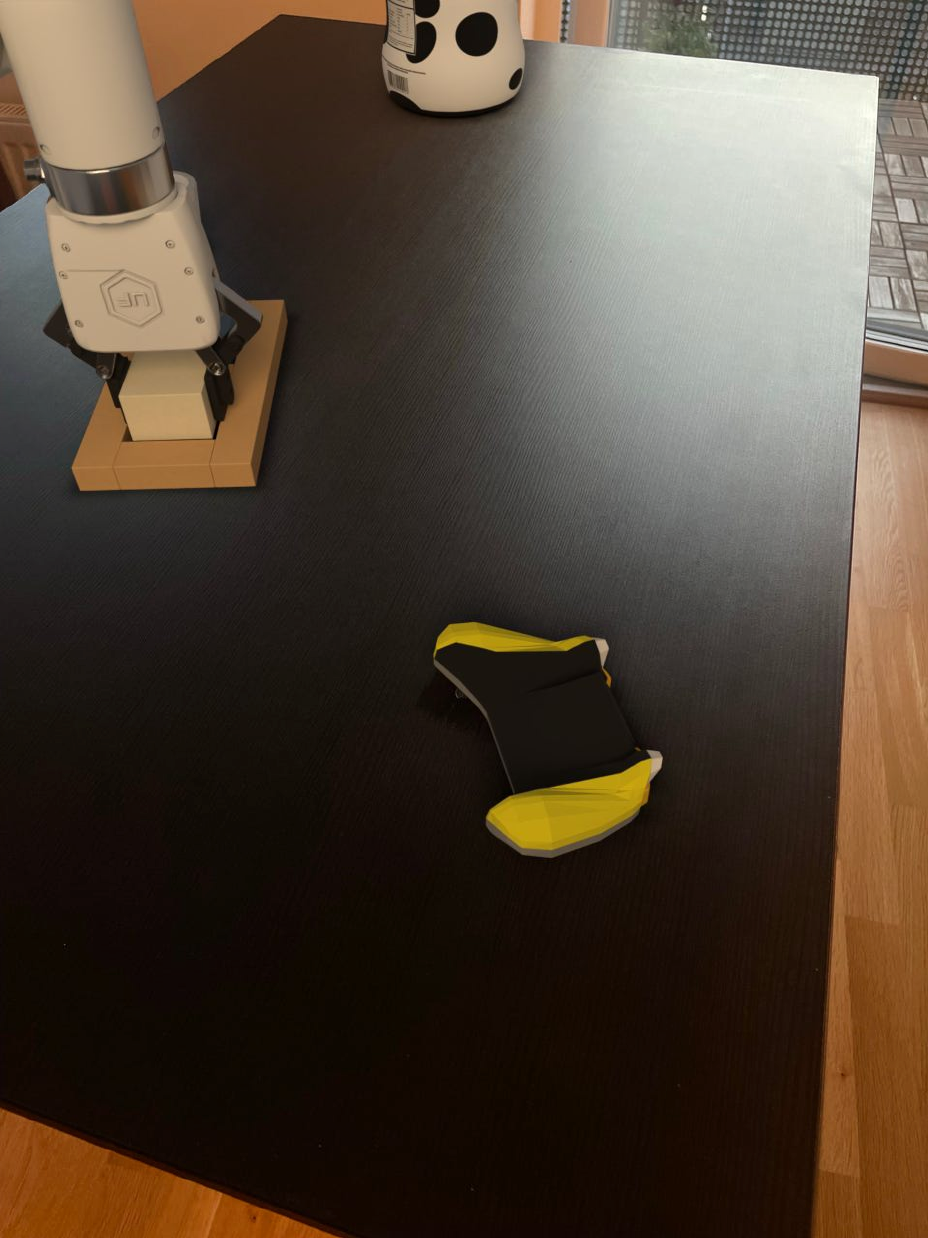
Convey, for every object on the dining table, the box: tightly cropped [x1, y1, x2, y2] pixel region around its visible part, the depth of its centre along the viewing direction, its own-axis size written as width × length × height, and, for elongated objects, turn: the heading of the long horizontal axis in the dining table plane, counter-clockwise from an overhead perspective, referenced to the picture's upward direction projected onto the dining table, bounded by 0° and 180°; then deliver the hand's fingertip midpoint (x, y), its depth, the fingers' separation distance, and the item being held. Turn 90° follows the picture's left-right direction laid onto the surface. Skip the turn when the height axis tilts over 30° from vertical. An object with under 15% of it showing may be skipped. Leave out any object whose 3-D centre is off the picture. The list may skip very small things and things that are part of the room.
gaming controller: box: [433, 621, 664, 859], centre depth 55 cm, size 15×6×10 cm
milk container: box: [381, 0, 526, 118], centre depth 118 cm, size 17×17×18 cm
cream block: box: [119, 350, 218, 442], centre depth 75 cm, size 6×6×4 cm
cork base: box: [71, 299, 288, 492], centre depth 81 cm, size 13×23×2 cm, turn 1°
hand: (178, 410), depth 76 cm, fingers closed on cream block, 6 cm apart
